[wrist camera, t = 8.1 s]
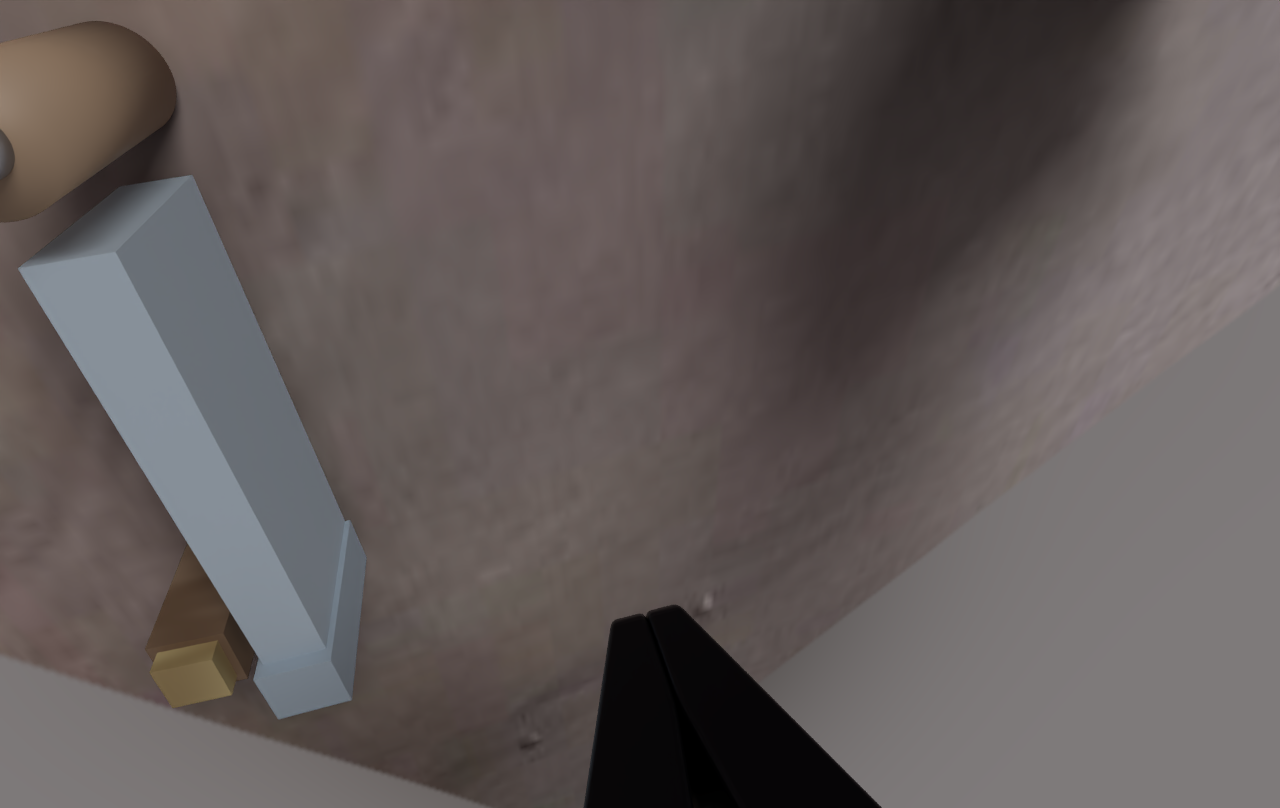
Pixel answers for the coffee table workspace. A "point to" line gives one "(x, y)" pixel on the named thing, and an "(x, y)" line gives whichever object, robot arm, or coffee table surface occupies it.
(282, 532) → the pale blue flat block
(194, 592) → the brown rectangular block
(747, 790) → the robot arm
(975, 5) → the coffee table surface
